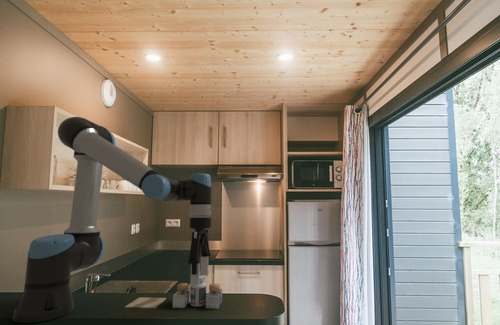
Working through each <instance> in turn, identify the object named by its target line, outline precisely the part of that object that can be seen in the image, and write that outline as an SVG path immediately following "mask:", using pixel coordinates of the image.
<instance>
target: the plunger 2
mask: <svg viewBox="0 0 500 325" xmlns="http://www.w3.org/2000/svg"><path fill="white" fill-rule="evenodd" d="M220 287H221V285H220V283H210V284H208V292H209V291H213V293H216V291H219V290H220V289H221V288H220Z"/></svg>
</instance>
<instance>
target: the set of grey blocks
mask: <svg viewBox="0 0 500 325" xmlns="http://www.w3.org/2000/svg"><path fill="white" fill-rule="evenodd" d="M190 298H191V287H190V288H189V287H188V290H185V291H184V292H181V291H179V290H177V291H176V292H175V293H174V294H172V309H185V308H186V307H187V306H188V304H190ZM222 302H223V288H220V290H219V291H216V293H213V291H209V290H208V292H206V304H205V310H206V309H208V310H209V309H214V310H215V309H216V310H218V309H219V308H220V306H221V304H222Z"/></svg>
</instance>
